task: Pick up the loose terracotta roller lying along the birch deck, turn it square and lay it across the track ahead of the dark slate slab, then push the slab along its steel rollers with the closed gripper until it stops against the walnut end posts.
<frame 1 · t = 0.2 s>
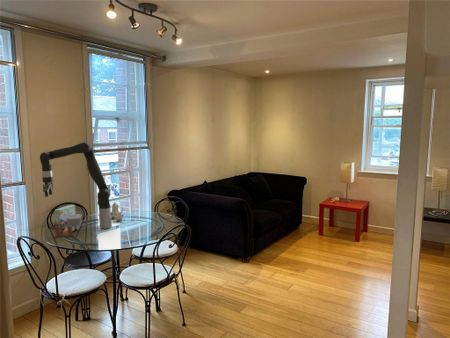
hand: (48, 195, 275), 29 cm above the table, fingers open, 8 cm apart
chinaware: (113, 219, 309), on the table
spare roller: (66, 233, 262), point 1 cm above the table, touching deck
roller mid: (74, 229, 275), point 1 cm above the table, tilted 20°, touching deck, slab
deck: (70, 232, 270), on the table
slab: (74, 223, 277), point 5 cm above the table, touching roller front, roller mid, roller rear
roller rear: (75, 227, 281), point 1 cm above the table, tilted 18°, touching deck, slab
roller front: (69, 231, 269), point 1 cm above the table, tilted 18°, touching deck, slab
snack box: (65, 223, 295), on the table
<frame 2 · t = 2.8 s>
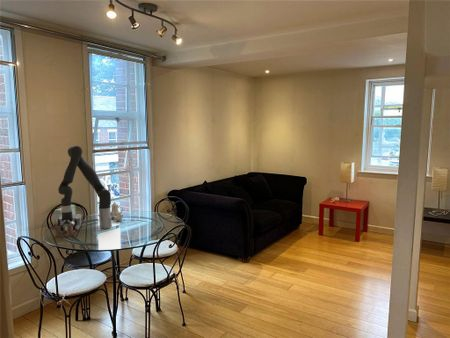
hand: (68, 230, 262), 3 cm above the table, fingers open, 8 cm apart
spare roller: (68, 231, 262), point 3 cm above the table, tilted 91°, touching deck, gripper
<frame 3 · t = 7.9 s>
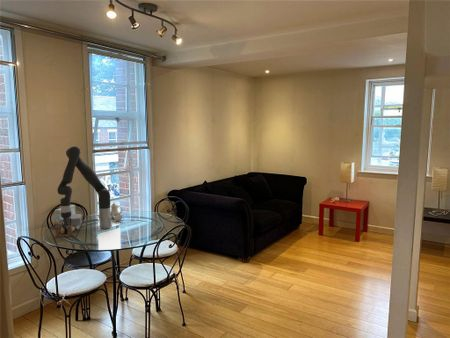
hand: (67, 232, 263), 2 cm above the table, fingers closed on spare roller, 4 cm apart
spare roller: (66, 232, 262), point 2 cm above the table, tilted 17°, touching gripper
roller mid: (74, 229, 275), point 1 cm above the table, tilted 12°, touching deck, slab
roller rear: (75, 226, 281), point 1 cm above the table, tilted 26°, touching deck, slab
roller front: (69, 231, 269), point 1 cm above the table, tilted 25°, touching deck, slab
when the fingers open (2 cm above the table, at t = 8.2 s): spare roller stays where it is, resting on deck.
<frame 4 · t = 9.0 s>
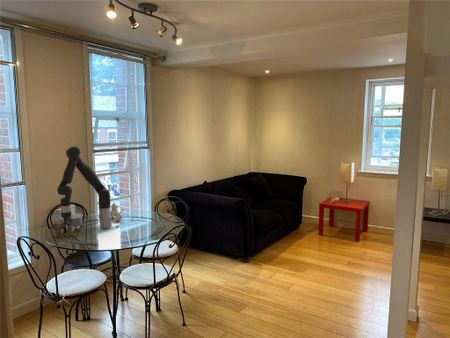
hand: (67, 231, 263), 3 cm above the table, fingers open, 8 cm apart
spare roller: (67, 233, 262), point 1 cm above the table, tilted 15°, touching deck
roller mid: (74, 229, 275), point 1 cm above the table, touching deck, slab
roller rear: (75, 226, 281), point 1 cm above the table, tilted 38°, touching deck, slab
roller front: (69, 230, 269), point 1 cm above the table, tilted 36°, touching deck, slab
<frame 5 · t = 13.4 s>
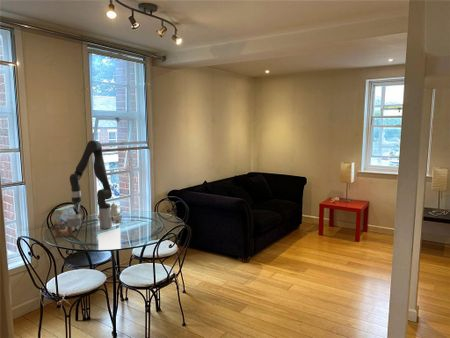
hand: (77, 215, 287), 9 cm above the table, fingers closed
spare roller: (66, 233, 262), point 2 cm above the table, tilted 52°, touching deck
roller mid: (74, 229, 275), point 1 cm above the table, tilted 18°, touching deck, slab
slab: (74, 223, 277), point 5 cm above the table, touching roller mid, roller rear
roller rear: (75, 227, 281), point 1 cm above the table, tilted 20°, touching deck, slab
roller front: (69, 231, 269), point 1 cm above the table, tilted 19°, touching deck
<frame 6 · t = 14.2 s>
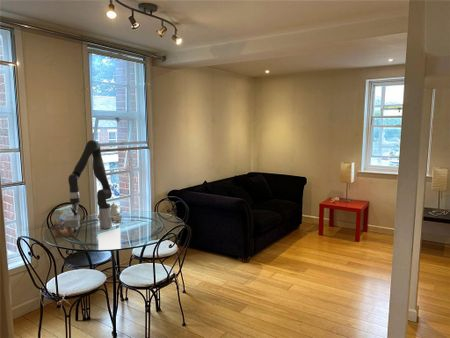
hand: (75, 217, 283), 9 cm above the table, fingers closed
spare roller: (66, 232, 262), point 2 cm above the table, tilted 72°, touching deck
roller mid: (74, 227, 274), point 3 cm above the table, tilted 77°, touching deck, slab
slab: (72, 224, 273), point 5 cm above the table, touching gripper, roller front, roller mid, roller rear
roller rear: (75, 226, 281), point 1 cm above the table, tilted 39°, touching deck, slab
roller front: (69, 230, 269), point 1 cm above the table, tilted 40°, touching deck, slab
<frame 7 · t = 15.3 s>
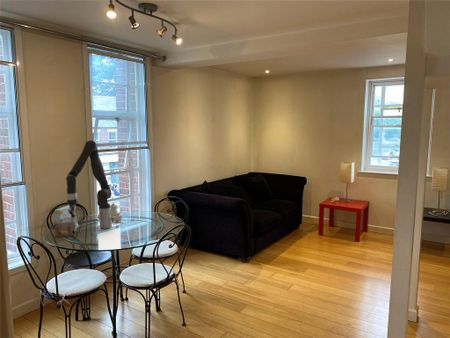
hand: (73, 218, 277), 9 cm above the table, fingers closed
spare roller: (66, 232, 261), point 3 cm above the table, tilted 85°, touching deck
roller mid: (71, 226, 269), point 5 cm above the table, tilted 162°, touching deck, slab
slab: (69, 226, 267), point 5 cm above the table, touching gripper, roller mid, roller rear
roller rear: (73, 224, 278), point 4 cm above the table, tilted 124°, touching deck, slab
roller front: (68, 228, 266), point 4 cm above the table, tilted 126°, touching deck
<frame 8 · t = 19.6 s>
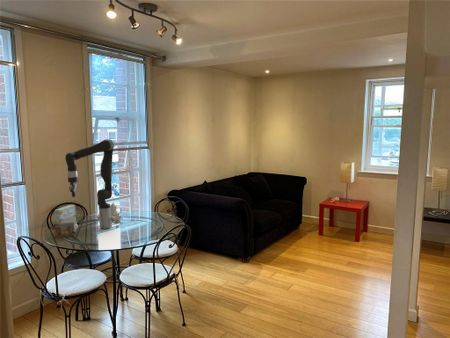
hand: (73, 196, 279), 27 cm above the table, fingers closed
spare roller: (66, 232, 261), point 3 cm above the table, tilted 85°, touching deck, roller front, slab
roller mid: (70, 227, 267), point 5 cm above the table, tilted 170°, touching deck, slab
slab: (68, 227, 266), point 5 cm above the table, touching roller front, roller mid, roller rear, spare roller
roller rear: (72, 224, 274), point 5 cm above the table, tilted 176°, touching deck, slab
roller front: (67, 228, 264), point 5 cm above the table, tilted 153°, touching deck, slab, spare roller
at the end: slab 0.6 cm from the target spot, point 5.0 cm above the table; slab tilted 0°; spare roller inside the target area under the slab (1.5 cm from its centre), point -2.2 cm above the slab's base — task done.
